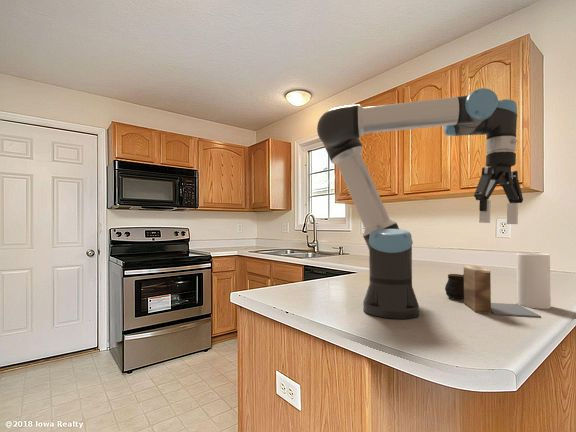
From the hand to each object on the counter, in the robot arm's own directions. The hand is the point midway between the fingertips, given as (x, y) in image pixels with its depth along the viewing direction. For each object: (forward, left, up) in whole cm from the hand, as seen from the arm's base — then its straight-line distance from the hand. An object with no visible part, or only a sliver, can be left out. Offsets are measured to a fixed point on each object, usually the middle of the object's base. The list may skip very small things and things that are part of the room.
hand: (498, 223), depth 95 cm
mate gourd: (-9, +11, -26) cm, 29 cm away
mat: (+1, -2, -25) cm, 25 cm away
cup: (+12, +6, -26) cm, 29 cm away
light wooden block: (-7, -2, -25) cm, 26 cm away
